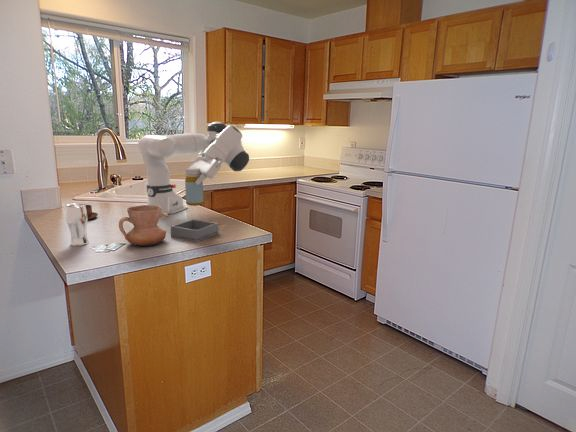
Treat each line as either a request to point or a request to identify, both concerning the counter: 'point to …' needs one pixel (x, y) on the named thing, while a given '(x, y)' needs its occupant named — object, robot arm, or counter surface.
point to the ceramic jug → (144, 225)
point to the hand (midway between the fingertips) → (192, 182)
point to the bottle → (193, 187)
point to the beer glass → (77, 223)
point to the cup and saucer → (90, 212)
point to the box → (194, 230)
